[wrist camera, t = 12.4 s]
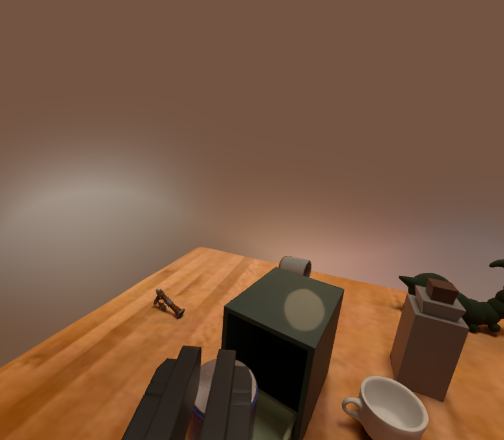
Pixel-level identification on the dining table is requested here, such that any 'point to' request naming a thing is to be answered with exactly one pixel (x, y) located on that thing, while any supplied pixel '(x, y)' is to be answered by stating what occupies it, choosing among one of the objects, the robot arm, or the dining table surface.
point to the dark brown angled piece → (168, 302)
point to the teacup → (388, 410)
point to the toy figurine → (468, 302)
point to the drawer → (273, 419)
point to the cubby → (285, 337)
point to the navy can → (202, 398)
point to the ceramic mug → (296, 265)
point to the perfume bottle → (429, 339)
